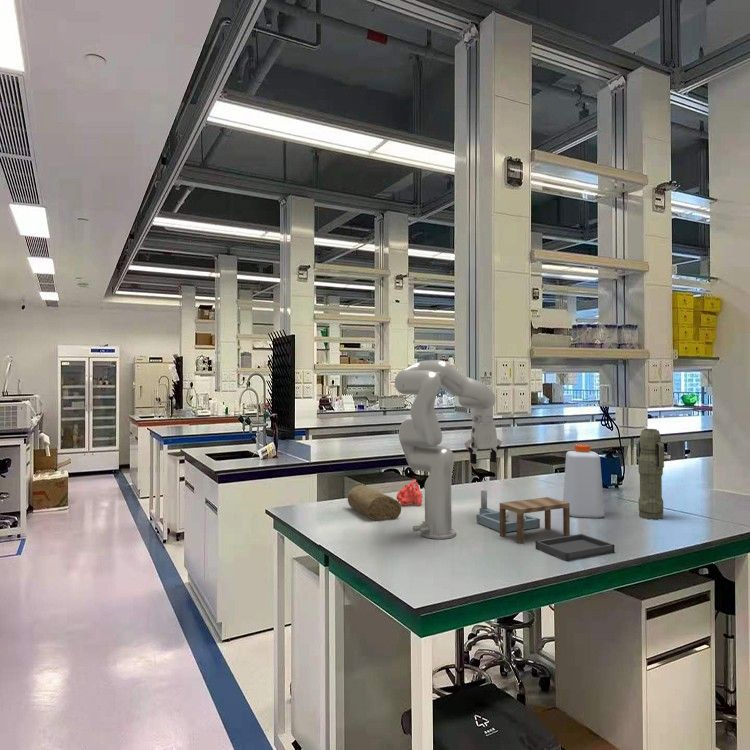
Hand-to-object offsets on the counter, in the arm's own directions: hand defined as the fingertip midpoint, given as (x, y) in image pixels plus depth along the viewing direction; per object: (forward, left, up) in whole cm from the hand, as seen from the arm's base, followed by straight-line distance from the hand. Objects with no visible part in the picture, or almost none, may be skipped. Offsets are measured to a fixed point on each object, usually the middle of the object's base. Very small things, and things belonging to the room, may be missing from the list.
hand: (483, 462), depth 226 cm
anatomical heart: (-17, +31, -22) cm, 42 cm away
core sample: (-38, +25, -22) cm, 50 cm away
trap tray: (0, -49, -22) cm, 53 cm away
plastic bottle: (+39, -14, -22) cm, 47 cm away
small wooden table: (0, -30, -22) cm, 37 cm away
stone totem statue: (+59, -30, -22) cm, 70 cm away
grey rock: (0, -18, -22) cm, 29 cm away
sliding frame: (0, -11, -21) cm, 24 cm away
